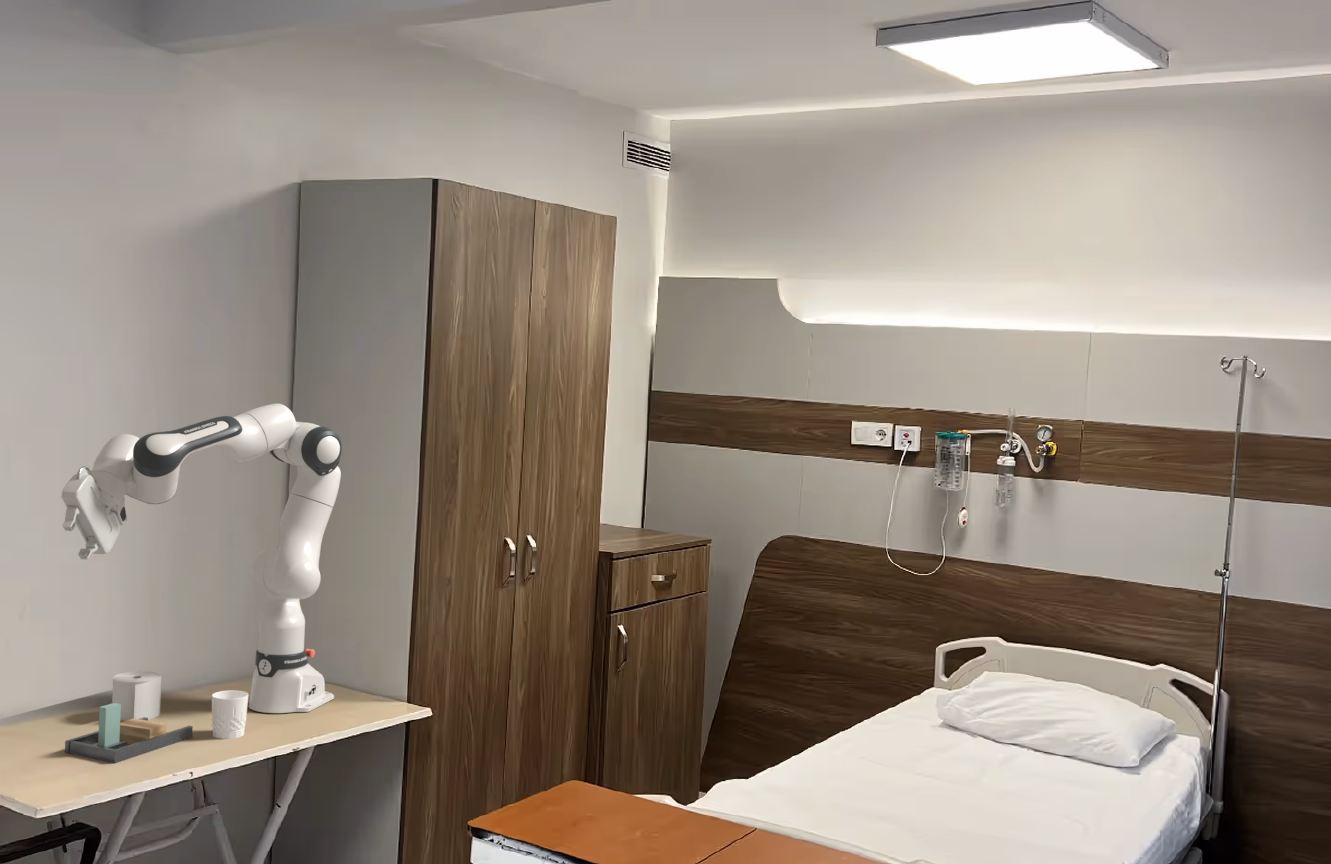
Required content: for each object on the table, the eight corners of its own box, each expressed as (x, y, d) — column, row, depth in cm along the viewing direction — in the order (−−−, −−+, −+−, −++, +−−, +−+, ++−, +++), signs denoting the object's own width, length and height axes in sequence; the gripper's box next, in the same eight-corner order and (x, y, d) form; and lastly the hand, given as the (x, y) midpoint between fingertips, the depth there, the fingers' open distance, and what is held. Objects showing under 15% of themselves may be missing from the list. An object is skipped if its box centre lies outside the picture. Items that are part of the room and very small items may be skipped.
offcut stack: (133, 734, 274) (134, 716, 274) (168, 741, 270) (169, 723, 270) (111, 741, 268) (112, 723, 268) (146, 748, 265) (147, 730, 264)
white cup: (209, 734, 280) (211, 691, 280) (245, 732, 283) (247, 689, 283) (210, 744, 273) (212, 699, 273) (247, 741, 276) (249, 698, 276)
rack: (144, 731, 280) (144, 717, 279) (191, 740, 274) (192, 726, 274) (64, 756, 259) (65, 740, 259) (114, 767, 254) (115, 751, 254)
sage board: (112, 748, 263) (114, 702, 263) (119, 750, 263) (120, 704, 262) (97, 753, 260) (99, 706, 259) (104, 754, 259) (106, 708, 259)
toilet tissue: (143, 709, 297) (145, 668, 297) (172, 719, 290) (174, 677, 290) (101, 717, 288) (103, 675, 288) (131, 728, 282) (132, 685, 281)
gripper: (99, 462, 260) (72, 511, 250) (129, 524, 274) (105, 573, 264) (70, 461, 260) (42, 510, 250) (102, 523, 274) (77, 572, 265)
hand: (74, 543), depth 257 cm, fingers open, 8 cm apart
